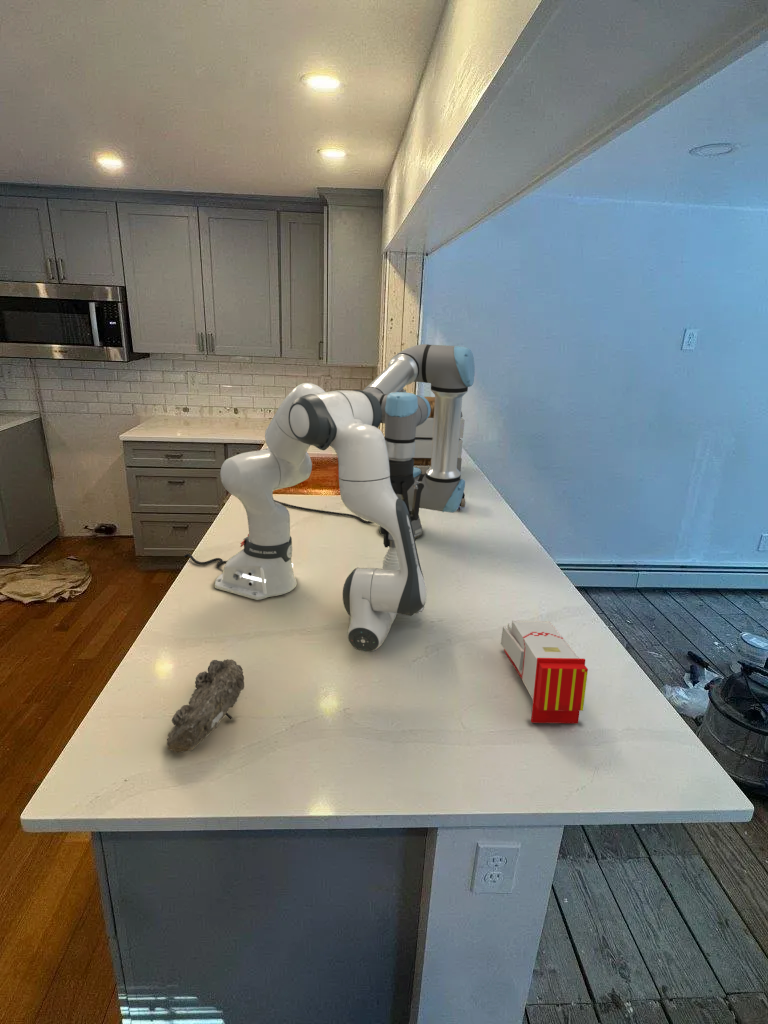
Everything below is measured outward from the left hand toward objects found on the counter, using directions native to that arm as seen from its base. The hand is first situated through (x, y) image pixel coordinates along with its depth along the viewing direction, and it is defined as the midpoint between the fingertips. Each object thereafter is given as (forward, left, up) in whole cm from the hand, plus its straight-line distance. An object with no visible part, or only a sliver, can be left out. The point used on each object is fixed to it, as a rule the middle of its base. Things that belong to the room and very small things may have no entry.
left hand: (392, 582), depth 151 cm
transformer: (-15, +129, -6) cm, 130 cm away
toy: (+38, -24, -6) cm, 45 cm away
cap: (0, -1, +13) cm, 13 cm away
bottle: (0, -1, -6) cm, 6 cm away
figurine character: (+7, +85, -6) cm, 86 cm away
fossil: (-23, -54, -6) cm, 59 cm away
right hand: (0, -1, +11) cm, 11 cm away
